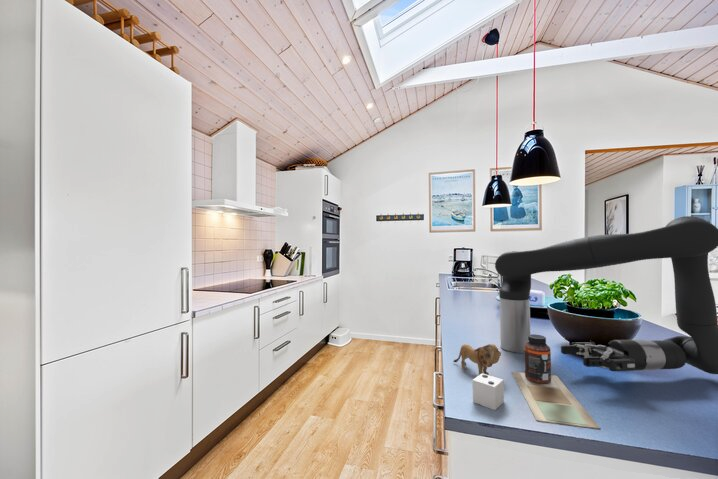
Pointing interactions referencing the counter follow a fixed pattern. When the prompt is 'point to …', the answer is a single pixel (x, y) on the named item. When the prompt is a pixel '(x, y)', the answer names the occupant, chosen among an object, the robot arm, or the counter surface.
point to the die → (488, 391)
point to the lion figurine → (480, 356)
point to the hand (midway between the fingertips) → (572, 355)
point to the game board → (553, 402)
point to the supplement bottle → (537, 359)
